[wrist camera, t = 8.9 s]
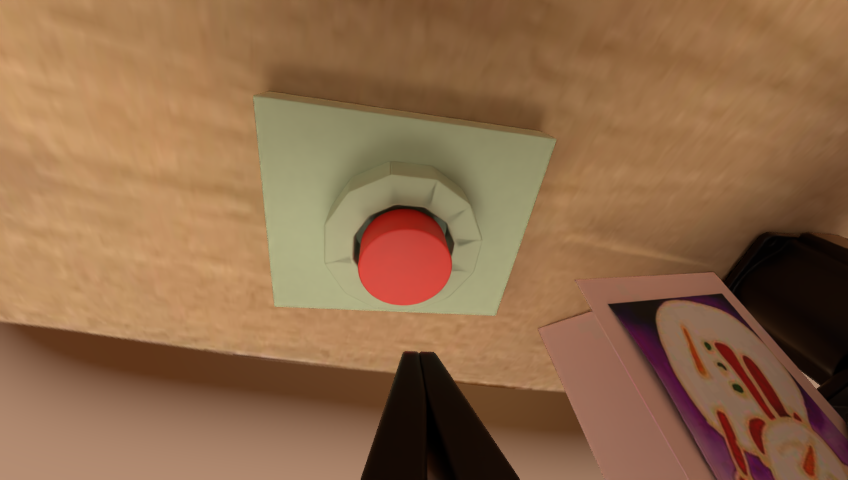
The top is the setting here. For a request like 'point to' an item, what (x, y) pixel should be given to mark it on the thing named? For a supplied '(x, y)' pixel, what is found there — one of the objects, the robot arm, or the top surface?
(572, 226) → the top surface
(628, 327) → the greeting card
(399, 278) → the button
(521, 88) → the top surface
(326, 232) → the button housing
